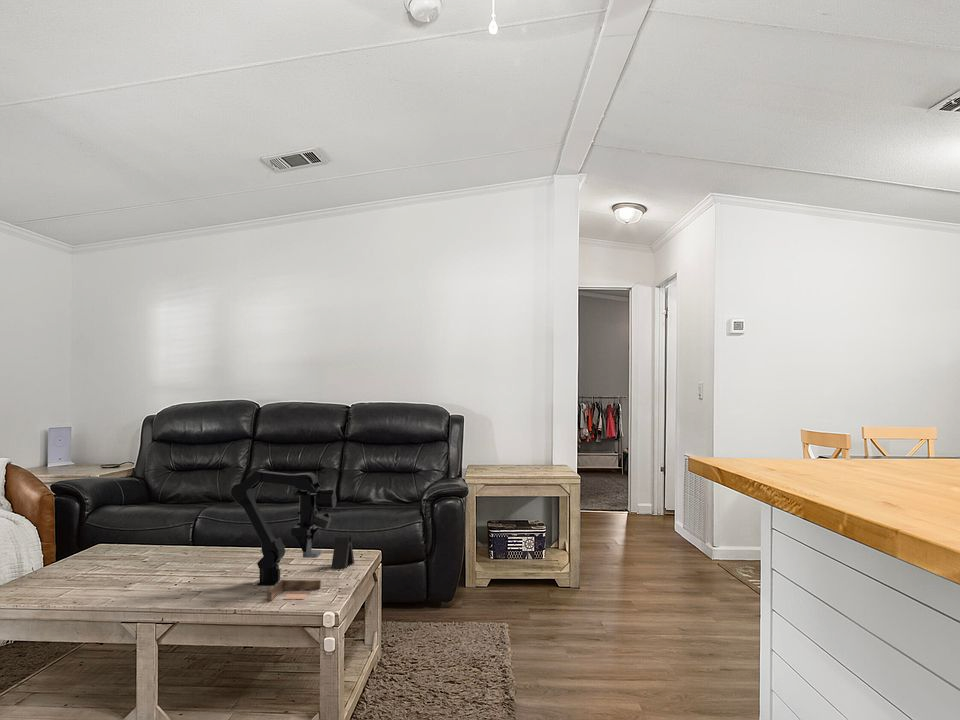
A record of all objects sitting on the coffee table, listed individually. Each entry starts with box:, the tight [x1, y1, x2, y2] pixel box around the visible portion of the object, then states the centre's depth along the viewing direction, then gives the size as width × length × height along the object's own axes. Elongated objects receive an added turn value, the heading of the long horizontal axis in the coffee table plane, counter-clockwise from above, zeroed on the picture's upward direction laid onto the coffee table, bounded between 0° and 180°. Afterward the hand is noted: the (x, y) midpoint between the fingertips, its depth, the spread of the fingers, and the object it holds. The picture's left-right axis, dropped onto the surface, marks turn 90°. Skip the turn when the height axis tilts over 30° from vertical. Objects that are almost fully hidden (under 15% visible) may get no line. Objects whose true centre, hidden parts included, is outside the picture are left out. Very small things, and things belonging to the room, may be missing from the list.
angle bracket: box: [302, 538, 322, 559], centre depth 250 cm, size 5×5×6 cm
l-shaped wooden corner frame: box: [267, 579, 322, 602], centre depth 236 cm, size 14×15×3 cm
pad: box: [283, 591, 311, 600], centre depth 234 cm, size 7×8×1 cm
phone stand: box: [330, 534, 355, 569], centre depth 274 cm, size 9×6×12 cm, turn 166°
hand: (307, 550), depth 250 cm, fingers closed on angle bracket, 5 cm apart
